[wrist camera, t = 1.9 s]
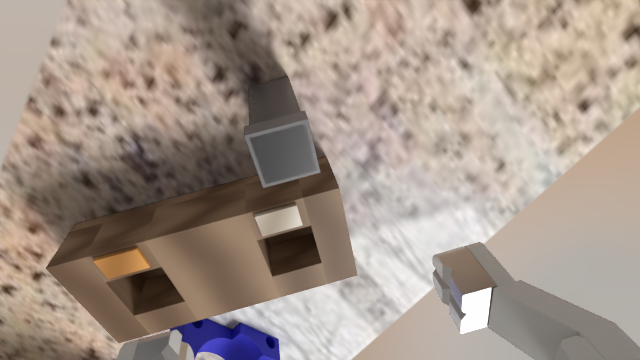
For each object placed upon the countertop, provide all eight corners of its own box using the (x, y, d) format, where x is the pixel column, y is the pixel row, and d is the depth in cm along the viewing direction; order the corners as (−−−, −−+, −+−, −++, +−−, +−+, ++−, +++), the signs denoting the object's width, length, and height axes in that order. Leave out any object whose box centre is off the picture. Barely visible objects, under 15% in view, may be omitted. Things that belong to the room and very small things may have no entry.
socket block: (326, 156, 30) (340, 190, 25) (344, 238, 35) (358, 277, 31) (75, 224, 29) (43, 271, 24) (134, 297, 34) (117, 346, 30)
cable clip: (278, 338, 42) (282, 388, 37) (253, 356, 44) (254, 407, 39) (196, 301, 36) (189, 355, 32) (171, 324, 38) (159, 379, 33)
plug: (290, 72, 25) (307, 118, 18) (300, 114, 27) (320, 172, 20) (245, 84, 25) (244, 135, 18) (259, 125, 27) (263, 188, 19)
